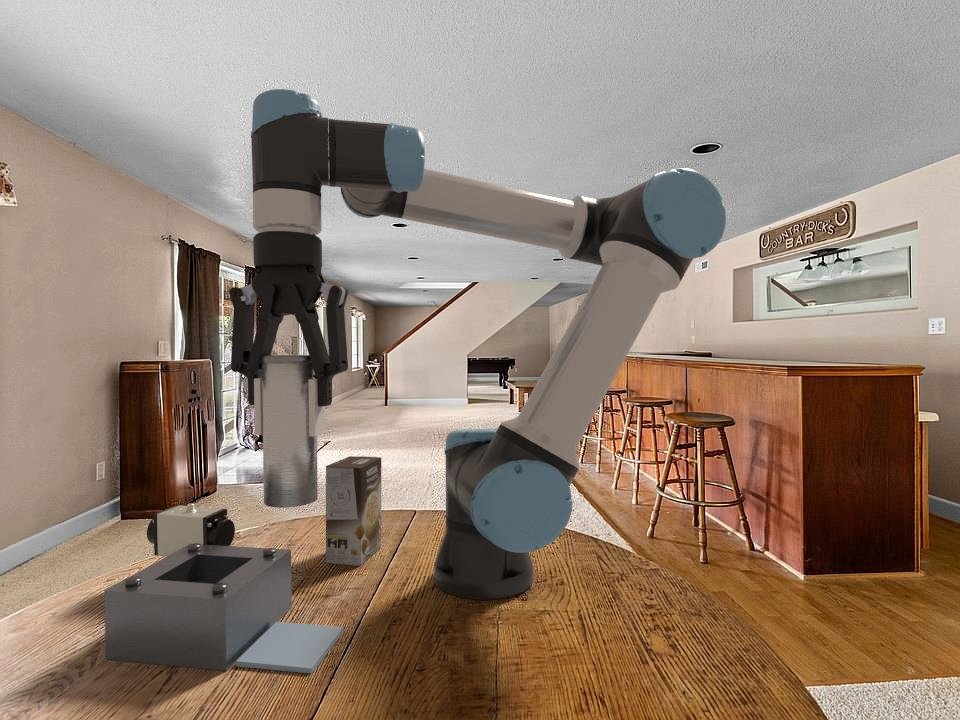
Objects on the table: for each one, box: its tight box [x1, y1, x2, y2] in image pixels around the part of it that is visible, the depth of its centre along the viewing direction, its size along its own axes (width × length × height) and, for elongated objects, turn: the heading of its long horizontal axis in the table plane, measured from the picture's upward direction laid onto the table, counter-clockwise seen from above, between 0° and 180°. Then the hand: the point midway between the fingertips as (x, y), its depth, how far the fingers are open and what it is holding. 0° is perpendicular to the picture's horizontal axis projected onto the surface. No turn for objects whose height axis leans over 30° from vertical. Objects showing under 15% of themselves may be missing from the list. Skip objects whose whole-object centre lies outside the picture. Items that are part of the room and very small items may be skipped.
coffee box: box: [325, 455, 383, 567], centre depth 96 cm, size 9×6×16 cm
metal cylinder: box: [262, 354, 319, 509], centre depth 66 cm, size 6×6×17 cm
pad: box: [235, 621, 345, 675], centre depth 67 cm, size 9×9×1 cm
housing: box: [103, 543, 293, 672], centre depth 71 cm, size 15×15×9 cm
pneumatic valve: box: [146, 502, 236, 557], centre depth 85 cm, size 6×12×12 cm, turn 78°
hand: (290, 433), depth 66 cm, fingers closed on metal cylinder, 6 cm apart
